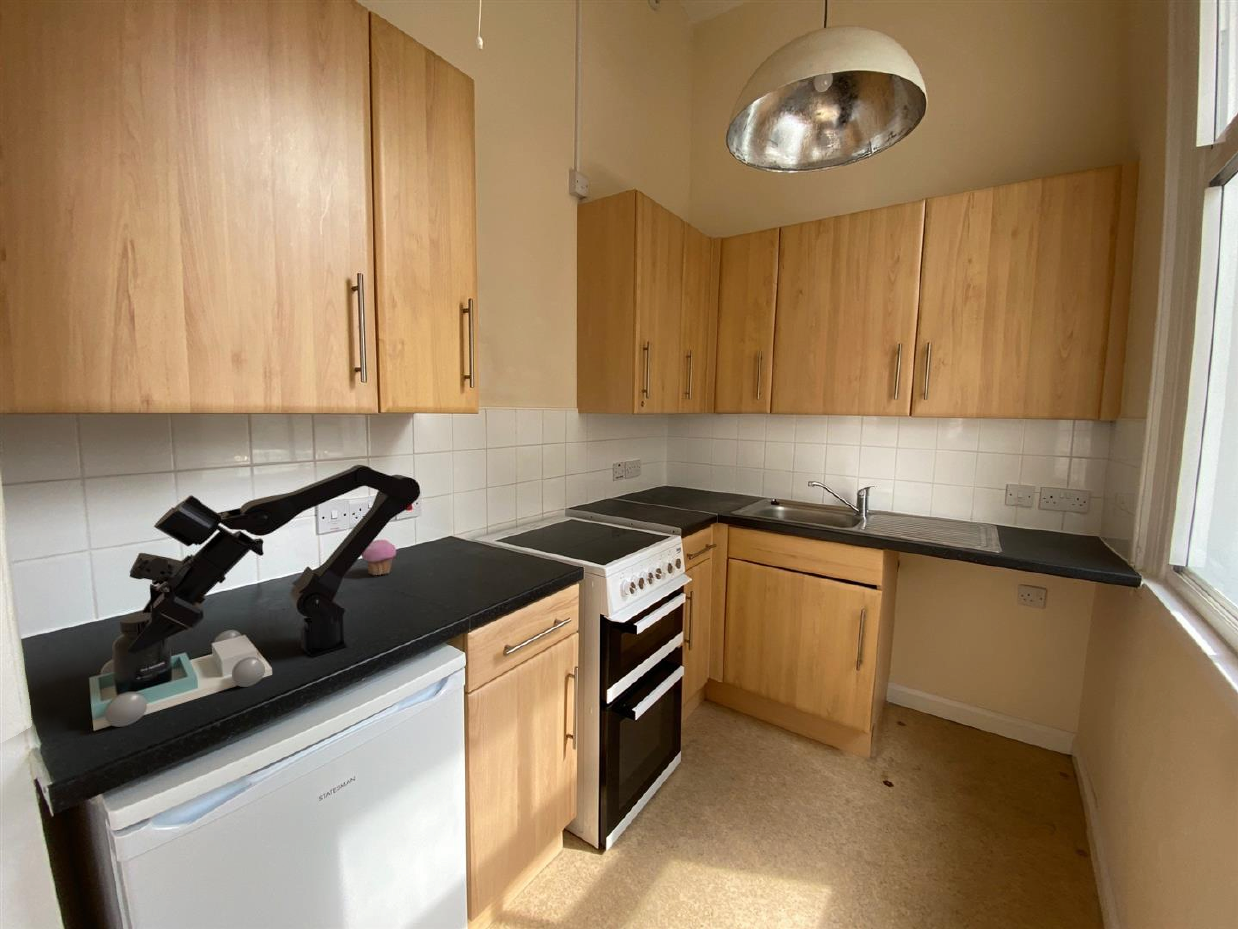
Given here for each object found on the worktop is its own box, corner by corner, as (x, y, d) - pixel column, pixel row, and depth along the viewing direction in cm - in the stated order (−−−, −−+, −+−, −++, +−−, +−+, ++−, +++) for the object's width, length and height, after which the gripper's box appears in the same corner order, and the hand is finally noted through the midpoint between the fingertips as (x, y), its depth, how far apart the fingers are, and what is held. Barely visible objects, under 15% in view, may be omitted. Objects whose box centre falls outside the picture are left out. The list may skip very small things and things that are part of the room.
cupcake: (389, 568, 151) (388, 535, 150) (401, 574, 145) (400, 540, 144) (357, 574, 145) (356, 540, 144) (369, 581, 139) (367, 546, 138)
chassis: (250, 646, 100) (249, 625, 100) (274, 678, 89) (273, 654, 88) (90, 690, 84) (88, 665, 84) (94, 736, 73) (91, 707, 72)
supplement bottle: (153, 698, 80) (147, 625, 79) (103, 702, 79) (96, 627, 78) (183, 676, 87) (178, 608, 85) (137, 679, 86) (131, 610, 84)
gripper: (164, 525, 90) (80, 600, 83) (168, 545, 76) (68, 638, 70) (224, 559, 96) (150, 632, 90) (237, 584, 82) (151, 672, 76)
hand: (131, 642), depth 81 cm, fingers open, 9 cm apart
